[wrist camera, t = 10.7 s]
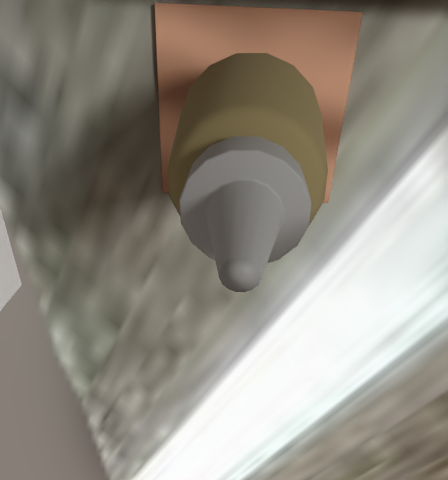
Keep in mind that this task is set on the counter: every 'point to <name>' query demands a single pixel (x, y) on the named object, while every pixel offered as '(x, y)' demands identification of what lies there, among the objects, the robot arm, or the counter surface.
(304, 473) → the counter surface
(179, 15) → the rail
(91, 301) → the counter surface
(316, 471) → the counter surface
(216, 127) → the squeeze bottle
